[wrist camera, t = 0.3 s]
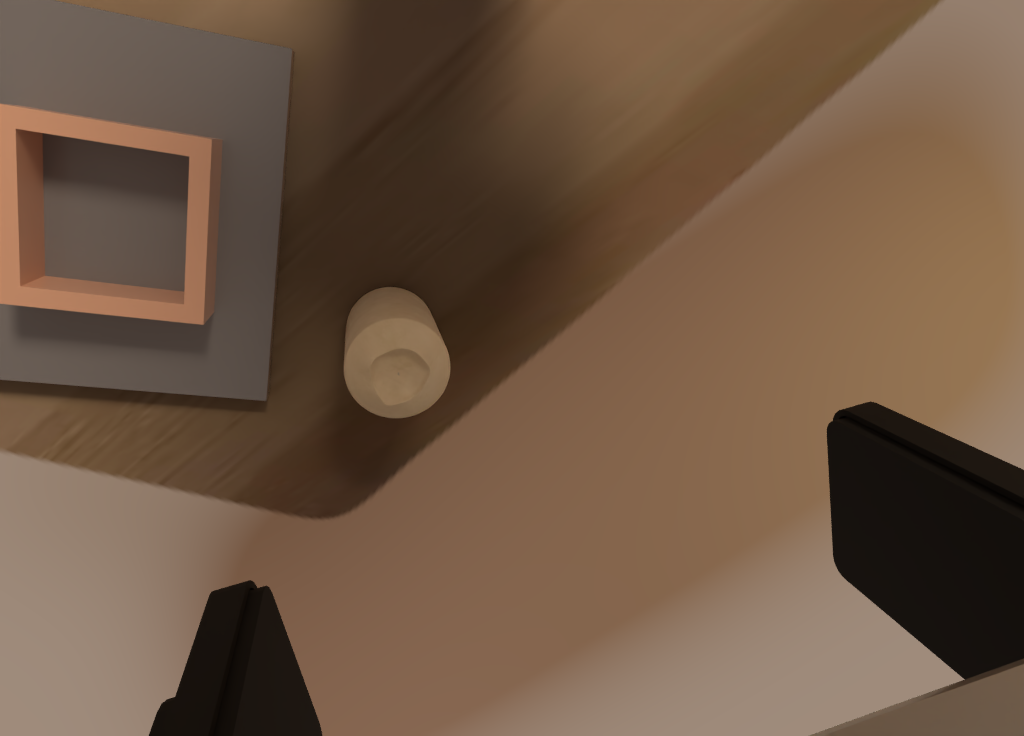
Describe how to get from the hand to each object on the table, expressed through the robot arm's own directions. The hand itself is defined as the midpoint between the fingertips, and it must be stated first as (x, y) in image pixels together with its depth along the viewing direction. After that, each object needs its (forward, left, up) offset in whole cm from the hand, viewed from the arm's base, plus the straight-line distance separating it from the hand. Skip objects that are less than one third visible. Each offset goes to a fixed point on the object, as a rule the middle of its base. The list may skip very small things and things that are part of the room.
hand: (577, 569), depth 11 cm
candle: (+5, -1, -34) cm, 35 cm away
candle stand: (0, -16, -34) cm, 38 cm away
